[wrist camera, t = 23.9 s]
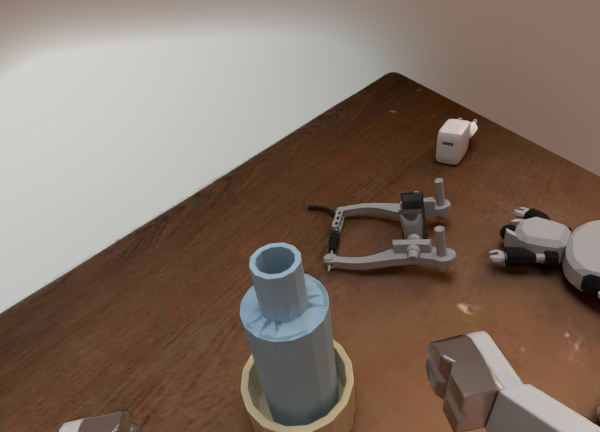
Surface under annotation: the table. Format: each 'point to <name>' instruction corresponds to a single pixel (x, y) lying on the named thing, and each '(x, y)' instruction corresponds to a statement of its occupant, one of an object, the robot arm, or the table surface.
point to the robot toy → (553, 247)
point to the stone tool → (598, 412)
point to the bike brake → (413, 232)
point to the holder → (330, 428)
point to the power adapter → (454, 140)
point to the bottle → (290, 336)
